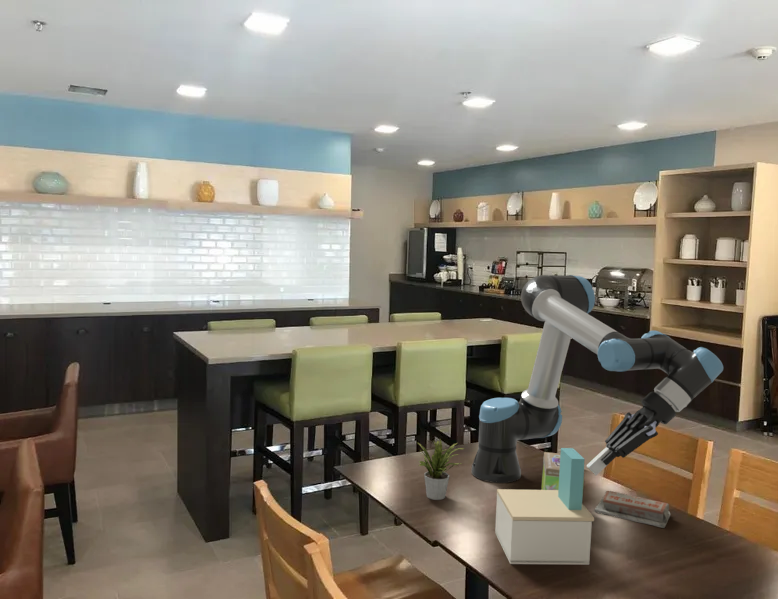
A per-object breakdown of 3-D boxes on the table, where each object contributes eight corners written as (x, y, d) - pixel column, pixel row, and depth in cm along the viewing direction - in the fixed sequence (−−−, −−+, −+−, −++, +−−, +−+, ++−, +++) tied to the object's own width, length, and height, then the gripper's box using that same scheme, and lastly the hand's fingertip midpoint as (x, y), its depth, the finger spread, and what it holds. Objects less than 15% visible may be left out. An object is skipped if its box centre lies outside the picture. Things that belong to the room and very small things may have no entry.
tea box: (581, 528, 167) (585, 472, 166) (541, 524, 169) (544, 468, 168) (577, 506, 182) (580, 453, 181) (539, 502, 184) (542, 450, 183)
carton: (566, 533, 164) (568, 494, 163) (589, 564, 148) (591, 521, 147) (495, 532, 163) (497, 493, 162) (510, 563, 147) (512, 520, 146)
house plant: (473, 504, 180) (475, 446, 179) (426, 510, 175) (429, 450, 174) (450, 486, 193) (453, 432, 192) (407, 491, 189) (409, 435, 187)
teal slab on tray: (570, 493, 163) (573, 443, 162) (593, 521, 147) (597, 465, 146) (496, 492, 162) (499, 441, 161) (512, 520, 146) (515, 464, 145)
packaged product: (671, 499, 177) (666, 512, 168) (670, 517, 177) (664, 530, 169) (603, 485, 186) (594, 496, 178) (602, 501, 187) (593, 513, 178)
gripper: (689, 420, 148) (612, 492, 148) (662, 406, 161) (591, 472, 161) (667, 396, 147) (590, 468, 147) (642, 384, 160) (571, 450, 160)
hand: (591, 470), depth 154 cm, fingers closed
